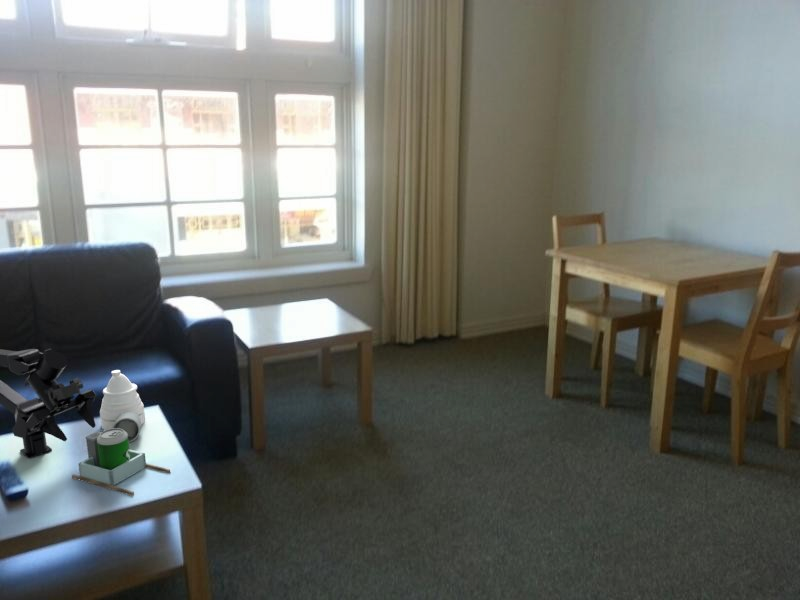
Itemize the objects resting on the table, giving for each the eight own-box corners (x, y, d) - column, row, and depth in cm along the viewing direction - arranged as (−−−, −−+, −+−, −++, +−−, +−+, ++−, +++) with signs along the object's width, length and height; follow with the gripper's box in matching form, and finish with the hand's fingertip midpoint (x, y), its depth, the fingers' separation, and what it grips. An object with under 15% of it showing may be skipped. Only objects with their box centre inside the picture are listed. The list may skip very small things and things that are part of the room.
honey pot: (140, 430, 205) (134, 375, 200) (96, 433, 203) (89, 377, 198) (148, 413, 217) (143, 361, 213) (107, 416, 215) (101, 363, 211)
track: (72, 477, 176) (71, 475, 176) (111, 456, 188) (111, 454, 187) (132, 495, 167) (132, 492, 167) (170, 472, 179) (170, 469, 179)
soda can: (125, 481, 174) (121, 438, 172) (96, 481, 174) (91, 439, 171) (135, 467, 182) (131, 426, 179) (108, 467, 181) (103, 427, 179)
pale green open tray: (77, 476, 176) (72, 442, 174) (112, 457, 187) (108, 425, 184) (112, 486, 171) (108, 452, 169) (146, 466, 181) (142, 433, 179)
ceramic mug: (142, 429, 205) (139, 406, 203) (141, 441, 197) (138, 417, 195) (105, 435, 202) (102, 411, 200) (102, 446, 194) (99, 422, 192)
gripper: (27, 384, 171) (63, 431, 169) (88, 362, 187) (121, 405, 185) (11, 407, 176) (45, 453, 174) (71, 383, 192) (103, 426, 191)
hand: (80, 433), depth 181 cm, fingers open, 9 cm apart
